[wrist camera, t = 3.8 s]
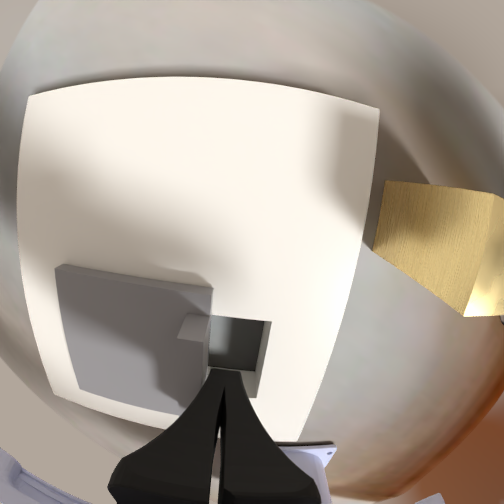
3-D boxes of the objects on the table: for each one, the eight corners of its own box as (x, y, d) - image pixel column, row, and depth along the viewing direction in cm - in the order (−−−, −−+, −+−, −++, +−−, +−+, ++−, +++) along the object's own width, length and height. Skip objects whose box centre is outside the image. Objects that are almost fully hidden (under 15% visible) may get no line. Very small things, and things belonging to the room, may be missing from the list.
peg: (424, 259, 15) (515, 314, 7) (372, 251, 14) (463, 316, 7) (437, 195, 14) (540, 219, 6) (385, 180, 13) (494, 193, 6)
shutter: (205, 410, 14) (200, 445, 11) (84, 381, 14) (66, 409, 11) (213, 287, 12) (204, 318, 9) (62, 263, 12) (30, 282, 9)
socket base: (292, 416, 18) (297, 441, 15) (67, 375, 17) (54, 394, 14) (359, 118, 12) (379, 109, 10) (53, 102, 12) (28, 96, 9)
